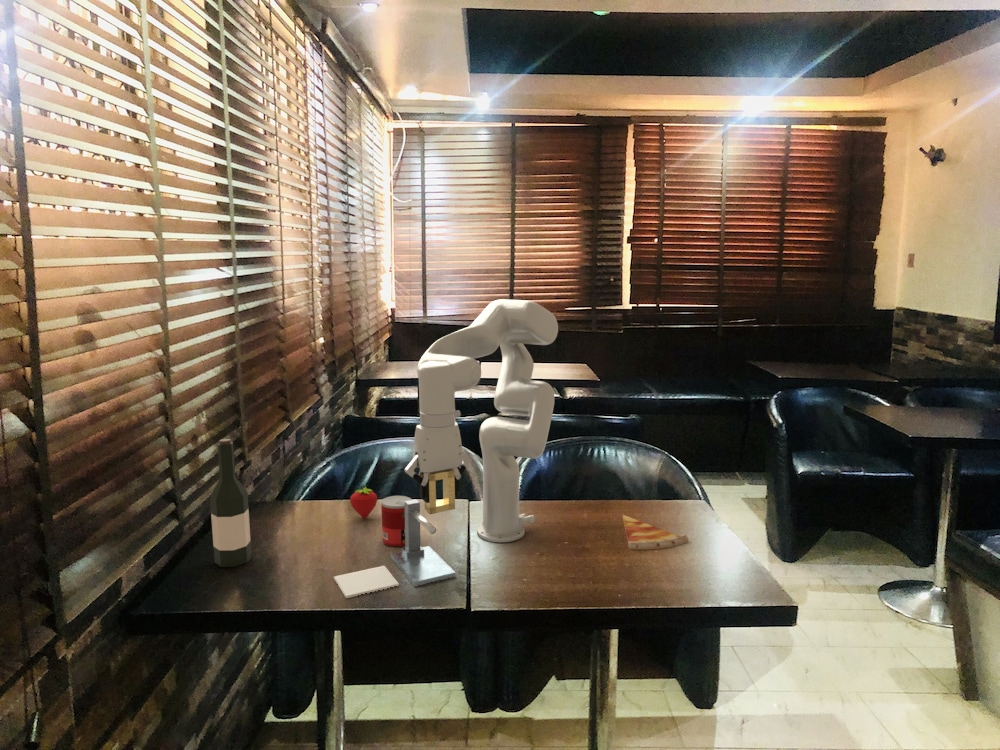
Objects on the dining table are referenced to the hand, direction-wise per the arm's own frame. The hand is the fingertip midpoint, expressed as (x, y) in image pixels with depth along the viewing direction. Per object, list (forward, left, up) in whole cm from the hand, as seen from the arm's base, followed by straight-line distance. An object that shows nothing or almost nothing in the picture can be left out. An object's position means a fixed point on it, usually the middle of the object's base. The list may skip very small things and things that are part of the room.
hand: (439, 497), depth 150 cm
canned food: (+1, -27, -21) cm, 34 cm away
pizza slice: (-62, 0, -21) cm, 66 cm away
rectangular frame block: (0, 0, -3) cm, 3 cm away
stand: (+1, -10, -21) cm, 23 cm away
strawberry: (+4, -46, -21) cm, 50 cm away
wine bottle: (+40, -35, -21) cm, 57 cm away
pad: (+15, -9, -21) cm, 27 cm away
